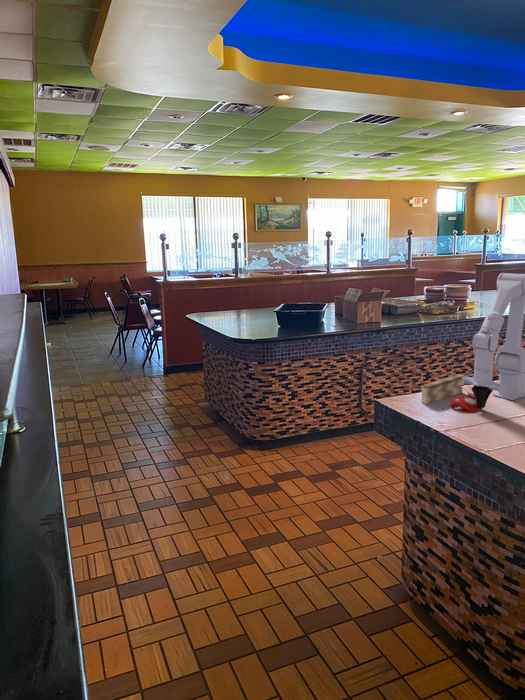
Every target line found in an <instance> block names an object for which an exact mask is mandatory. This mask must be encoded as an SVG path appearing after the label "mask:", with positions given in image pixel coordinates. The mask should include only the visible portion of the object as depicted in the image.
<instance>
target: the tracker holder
mask: <svg viewBox="0 0 525 700" xmlns="http://www.w3.org/2000/svg"><path fill="white" fill-rule="evenodd" d="M449 403H450V406H451V407H452V408H457V407H458V408H461V409H462V410H464V411H467V412H470V413H477V412H480V410H482V409H481V408H478V405H477V401H476V398H475V395H474V393H472V392H470V391H467V395H466V396H465V395H464V396H463V395H462V396H461V395H459V396H457V395H456V396H454V397H453V398H451V399H450V402H449Z"/></svg>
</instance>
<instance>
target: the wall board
mask: <svg viewBox="0 0 525 700" xmlns="http://www.w3.org/2000/svg"><path fill="white" fill-rule="evenodd" d="M465 376H466V375H465V374H460V373H458V374H455V375H452V376H449V377H445V378H442V379H439V380H435V381H432V382H428V383H425V384H422V385H423V386H421V403H422V404H425V405H428V404H431V403H435V402H438V401H441V400H444V399H446V398H450V397H453V396H455V395H456V396H457V395H458V394H461V393H463V383H462V377H465Z"/></svg>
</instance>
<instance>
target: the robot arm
mask: <svg viewBox="0 0 525 700" xmlns="http://www.w3.org/2000/svg"><path fill="white" fill-rule="evenodd" d="M496 290H497V293H496V294H497V295H496V298H495V300H494V304H493V306H492V309H491V311H490V312H488V313H487V314H486V316H485V317H484V319H483V322H482V324H481V326H480V329H479V331H478V332H477V333H475V334H473V336H472V337H473V338H472V341H471V345H472V349H473V351H472V353H473V355H474V364H473V366H474V367H473V377H472V376H467V375H465V377H462V384H469V385H473V386H472V387H471V391H472V392H473V393H472V394H474V395H475V398H476V401H477V405H478V408H481V409H480V410H482V409H485V408H486V404H487V401H488V399H489V397H490V395H491V394H492V395H493V396H495V397H498V398H503V399H505V400H511V401H515V400H518V399H520V398H523V397H525V348H524V347H523V346H522V345H521V344H522V336H523V328H524V319H525V273H507V272H506V273H505V272H501V273H500V274H499V275H498V277H497V279H496ZM508 307H509V310H508V317H507V324H506V326H507V327H506V333H505V341H504V345H502V346H500V347H498V345H499V339H500V334H499V333H500V332H501V329H502V327H503V324H504V323H505V318H504V314H505V313H506V310H507V309H508ZM495 351H496V354H495ZM494 367H495V368H496V369H497V372H498V373H499V374H498V382H495V381H493V377H494V376H493V375H494V374H493V373H494ZM493 391H496V392H494V393H492V392H493Z"/></svg>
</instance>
